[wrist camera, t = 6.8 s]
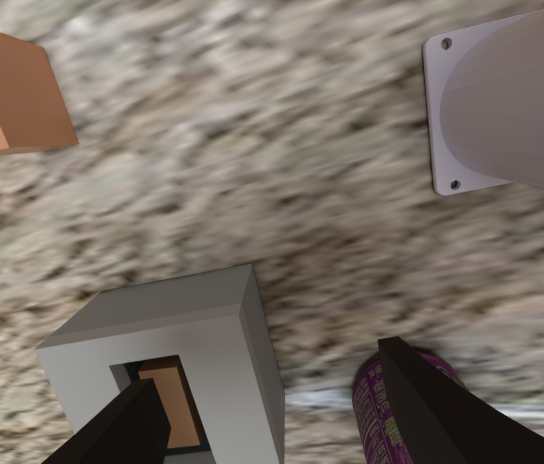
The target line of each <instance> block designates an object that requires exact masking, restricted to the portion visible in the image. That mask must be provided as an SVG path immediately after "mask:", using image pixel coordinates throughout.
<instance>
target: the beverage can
mask: <svg viewBox="0 0 544 464" xmlns="http://www.w3.org/2000/svg"><path fill="white" fill-rule="evenodd" d="M418 353H419V352H418ZM419 354H420V355H421V356H423V357H424V358H425V359H426V360H428V361H429V362H430V363H431V364H433V365H434V366H435V367H436V368H438V369H439V370H440V371H442V372H443V373H444V374H446V375H447V376H448V377H450V378H451V379H452V380H454V381H455V382H456V383H458V384H459V385H460V386H462V387H463V388H465V389H466V390H467V391H469V390H468V389H467V387H466V386H465V385H464V383H463V382H462V380H461V379H460V377H459V376H458V375H457V373H456V372H455V370H454V369H453V368H452V367H451V366H450V365H449V364H447V363H446V362H445V361H443V360H441V359H439V358H437V357H435V356H432V355H429V354H425V353H419ZM352 402H353V408H354V412H355V416H356V420H357V424H358V429H359V433H360V437H361V441H362V445H363V449H364V453H365V457H366V461H367V464H414V463H413V461H412V459H411V457H410V455H409V452H408V450H407V448H406V446H405V444H404V442H403V439H402V437H401V435H400V433H399V431H398V429H397V426H396V423H395V420H394V417H393V414H392V411H391V409H390V406H389V403H388V400H387V397H386V393H385V386H384V380H383V373H382V366H381V359H380V360H378V361H377V362H375V363H374V364H372V365H371V366H370V367H368V368H367V369H366V370H365V371H364V372H363V373H362V375H361V376H360V377H359V379H358V381H357V383H356V385H355V387H354V391H353V397H352Z"/></svg>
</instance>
